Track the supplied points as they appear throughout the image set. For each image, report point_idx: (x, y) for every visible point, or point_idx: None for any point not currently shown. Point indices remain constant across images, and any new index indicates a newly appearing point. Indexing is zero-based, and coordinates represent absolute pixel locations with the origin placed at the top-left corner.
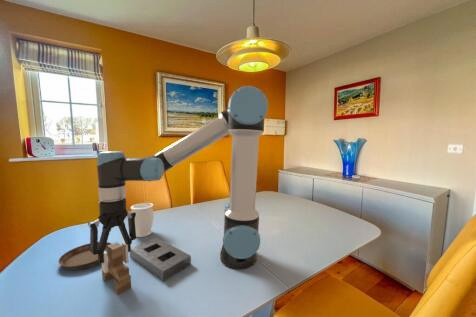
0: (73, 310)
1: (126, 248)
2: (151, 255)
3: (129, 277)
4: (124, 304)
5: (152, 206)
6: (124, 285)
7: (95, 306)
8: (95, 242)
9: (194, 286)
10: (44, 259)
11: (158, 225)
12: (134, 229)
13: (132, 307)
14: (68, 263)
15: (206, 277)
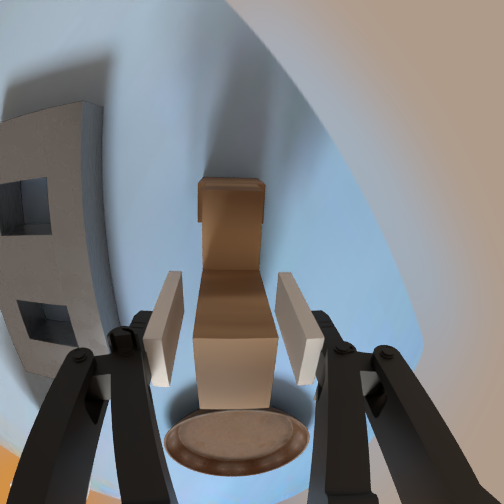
0: (373, 230)
1: (160, 323)
2: (61, 273)
3: (205, 182)
4: (268, 106)
5: (11, 482)
6: (230, 180)
7: (332, 188)
8: (420, 411)
9: (70, 12)
10: (301, 468)
11: (29, 425)
12: (46, 416)
13: (257, 69)
14: (280, 439)
15: (25, 30)
